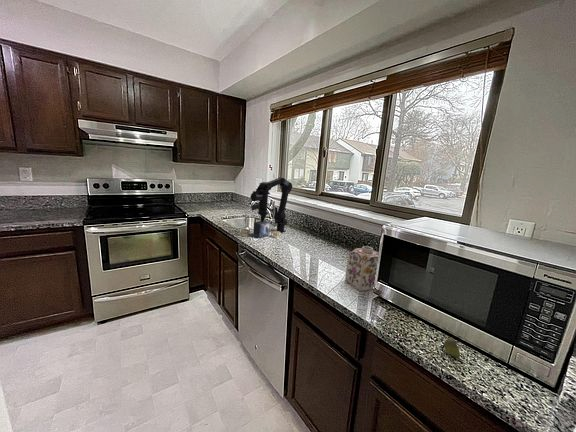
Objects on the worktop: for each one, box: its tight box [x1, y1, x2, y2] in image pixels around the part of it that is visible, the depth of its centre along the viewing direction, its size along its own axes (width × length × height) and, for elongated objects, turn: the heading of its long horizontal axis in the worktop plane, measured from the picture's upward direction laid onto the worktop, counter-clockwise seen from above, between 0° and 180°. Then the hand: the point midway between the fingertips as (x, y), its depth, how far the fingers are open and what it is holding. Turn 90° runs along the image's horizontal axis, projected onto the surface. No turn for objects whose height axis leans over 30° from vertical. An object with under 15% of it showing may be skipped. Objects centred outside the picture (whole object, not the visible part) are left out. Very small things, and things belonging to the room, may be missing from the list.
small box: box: [252, 220, 271, 239], centre depth 177 cm, size 11×6×10 cm, turn 143°
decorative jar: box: [344, 245, 379, 292], centre depth 112 cm, size 12×12×18 cm
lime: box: [443, 337, 461, 359], centre depth 72 cm, size 4×5×5 cm
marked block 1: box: [241, 228, 251, 237], centre depth 176 cm, size 4×4×4 cm
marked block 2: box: [272, 230, 281, 239], centre depth 178 cm, size 4×4×4 cm
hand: (262, 222), depth 176 cm, fingers closed, pressing on small box
